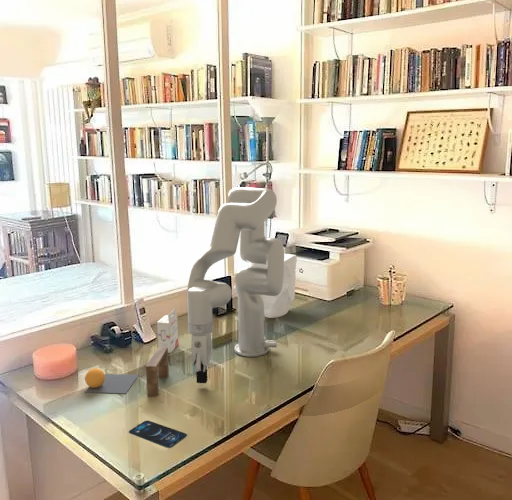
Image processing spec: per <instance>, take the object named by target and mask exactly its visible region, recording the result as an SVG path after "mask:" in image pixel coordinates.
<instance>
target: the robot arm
mask: <svg viewBox="0 0 512 500" xmlns="http://www.w3.org/2000/svg"><path fill="white" fill-rule="evenodd" d="M227 199H228V202H227V203H223V204H222V205H221V206H220V207H219V209H218V211H217V215H216V219H215V223H214V228H213V233H212V236H211V237H212V238H211V241H210V245H209V248H207V249H206V250H205V251H204V252H203V253H202V254H201V255H200V256H199V257H198V259H197V260H196V261H195V263H194V264H193V266H192V268H191V269H190V270H191V271H190V275H189V278H188V283H187V292H186V300H187V301H186V302H187V305H186V306H187V327H188V328H187V329H188V331H187V332H188V333H189V334H190V335H191V340H190V341H191V363H192V366H195V370H196V371H195V376H196V378H195V379H196V384H207V383H208V369H207V368H208V366H209V364H210V362H211V360H212V356H213V344H212V343H213V342H212V333H213V331H214V329H213V328H214V326H213V309H215V308H219V307H224V306H225V305H228V303H229V302H230V301H231V299H232V296H233V290H232V287H231V286H230V285H229V284H227V283H226V282H223V281H215V280H208V279H205V277H206V275H207V272H208V270H209V269H210V268H211V267H212V266H213V265H215V264H216V263H218V262H219V261H222V260H224V259H228V258H230V257H232V256H234V255H235V254H236V253H237V249H238V243H239V241H240V243H239V245H240V246H239V255H240V259H241V261H244V262H246V263H249V264H251V263H257V264H265V265H267V268H261V267H253V266H250V265H245V266H241V267H239V268H238V269H237V270H236V272H235V275H234V286H236V290H237V293H236V294H237V318H238V319H237V325H238V333H237V335H238V340H237V341H238V343H237V344H235V346H234V353H236V354H237V355H240V356H243V357H250V358H251V357H253V358H254V357H260V356H263V355H265V354H267V353H269V350H270V348H275V349H276V348H277V342H275V341H274V339H273V340H272V339H271V340H269V339H267V338H266V335H265V316H264V302H263V299H262V297H261V295H267V296H277V295H279V294H280V292H281V290H282V287H283V278H284V254H285V247H284V243H283V242H282V241H281V240H280V239H278V238H275V237H267V236H266V235H265V225H266V224H265V222H266V220H268V219H269V217H270V216H271V215H272V214H273V212H274V211H275V209H276V206H277V202H278V200H277V195H276V192H274V190H272V189H270V188H264V187H263V188H259V187H243V186H240V187H234V188H232V189H230V190H229V192H228V194H227ZM239 239H240V240H239Z"/></svg>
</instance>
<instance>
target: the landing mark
mask: <svg viewBox="0 0 512 500" xmlns="http://www.w3.org/2000/svg"><path fill="white" fill-rule="evenodd" d="M104 374H105V381H104V383H103V384H102V385H101V386H100V387H97V388H92V387H89V386H87V388H86V390H85V391H84V393H86V394H87V393H89V394H90V393H91V394H92V393H94V394H118V395H119V394H123V395H126V394H127V393H128V392H129V390H130V389H131V387H132V385H133V384H134V383H135V381H136V380H137V378H138V376H139V374H124V373H123V374H120V373H119V374H118V373H117V374H116V373H115V374H114V373H104Z"/></svg>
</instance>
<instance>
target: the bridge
mask: <svg viewBox="0 0 512 500" xmlns="http://www.w3.org/2000/svg"><path fill="white" fill-rule="evenodd" d="M169 370H170V369H169V353H168V347H159V346H158V347H157V349H156V350H155V352H154V353H153V355H152V356H151V358H150V359H149V361H148V362H147V364H146V365H145V371H146V372H145V376H146V393H147V395H146V396H147V397H158V395H159V393H160V391H159V390H160V388H159V387H160V386H159V378H167V379H168V377H169V375H170V373H169V372H170V371H169Z"/></svg>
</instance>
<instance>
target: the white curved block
mask: <svg viewBox="0 0 512 500" xmlns="http://www.w3.org/2000/svg"><path fill="white" fill-rule="evenodd" d="M249 266H253V267H261V268H267V265H265V264H257V263H249ZM296 269H297V254H290V253H284V278H283V287H282V290H281V292H280V294H279V295H277V296H267V295H261V297H262V299H263V302H264V318H265V317H266V318H269V319H275V318H279V317H283V316H285V315H287V314H288V312H289V310H290V309H291V308H290V307H291V305H292V303H293V301H295V296H296V295H295V293H296ZM232 289H233V291H234V292H235V294H237V290H236V286H235V285H234V286H233V288H232Z"/></svg>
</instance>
